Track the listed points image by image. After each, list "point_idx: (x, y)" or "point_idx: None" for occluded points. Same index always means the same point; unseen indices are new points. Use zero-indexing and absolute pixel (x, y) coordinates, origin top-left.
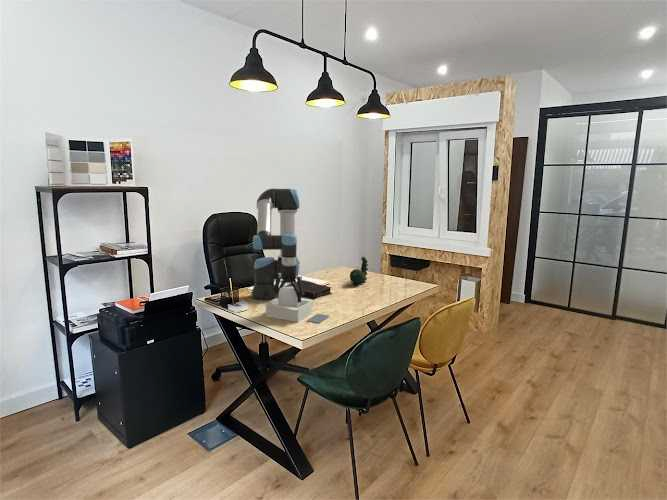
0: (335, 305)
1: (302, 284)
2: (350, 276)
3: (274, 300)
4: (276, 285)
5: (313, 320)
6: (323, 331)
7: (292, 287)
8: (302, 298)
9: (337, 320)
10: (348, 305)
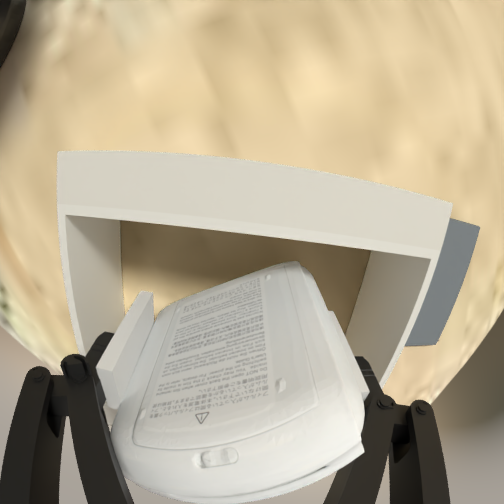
0: (455, 16)
1: (448, 500)
2: None
3: (82, 318)
4: (55, 467)
5: (412, 330)
6: (440, 392)
7: (288, 492)
8: (336, 188)
9: (500, 269)
10: (498, 22)
